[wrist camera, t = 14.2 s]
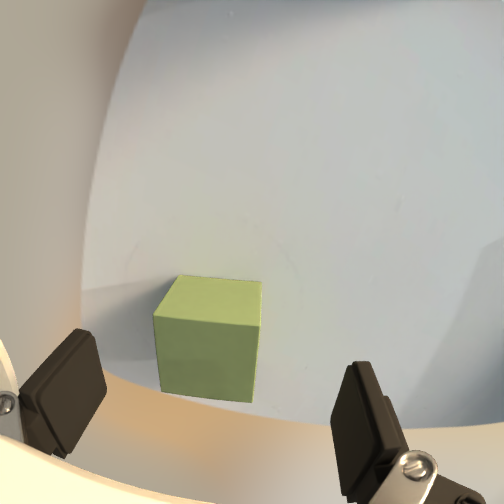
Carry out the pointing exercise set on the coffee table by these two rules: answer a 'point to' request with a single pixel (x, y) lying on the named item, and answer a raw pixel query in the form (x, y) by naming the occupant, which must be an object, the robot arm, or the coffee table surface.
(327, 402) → the coffee table surface
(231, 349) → the block
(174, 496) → the robot arm
